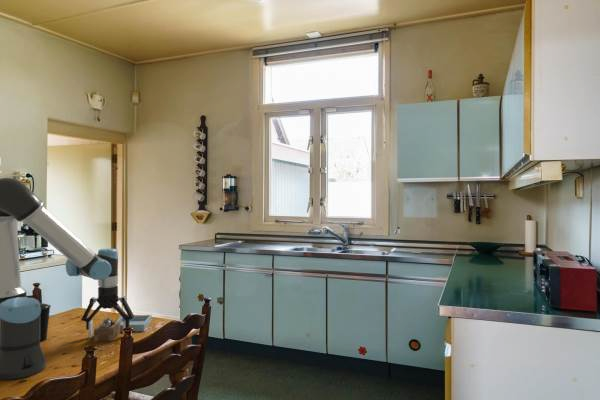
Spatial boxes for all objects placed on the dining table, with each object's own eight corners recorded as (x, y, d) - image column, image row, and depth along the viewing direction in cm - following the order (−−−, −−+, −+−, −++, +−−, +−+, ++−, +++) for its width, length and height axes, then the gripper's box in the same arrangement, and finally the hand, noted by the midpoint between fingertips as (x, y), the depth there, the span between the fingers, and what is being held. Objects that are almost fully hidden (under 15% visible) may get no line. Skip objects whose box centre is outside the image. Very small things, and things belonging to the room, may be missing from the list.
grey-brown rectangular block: (113, 340, 170) (113, 326, 170) (93, 341, 169) (94, 326, 169) (120, 332, 181) (120, 318, 181) (102, 333, 180) (102, 319, 180)
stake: (109, 339, 172) (109, 319, 172) (101, 339, 172) (102, 319, 172) (111, 336, 176) (111, 317, 176) (104, 336, 176) (104, 317, 176)
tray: (144, 331, 183) (144, 324, 183) (111, 332, 181) (111, 325, 181) (151, 321, 198) (151, 314, 198) (121, 322, 197) (121, 315, 197)
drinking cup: (53, 340, 171) (53, 291, 171) (31, 344, 165) (31, 294, 165) (47, 336, 176) (47, 288, 176) (26, 340, 170) (26, 291, 170)
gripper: (141, 283, 181) (141, 332, 181) (79, 284, 177) (79, 334, 177) (136, 286, 173) (136, 338, 173) (72, 288, 170) (72, 340, 170)
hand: (108, 336), depth 175 cm, fingers open, 13 cm apart
